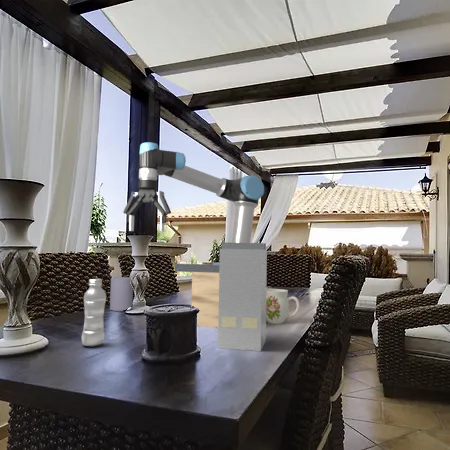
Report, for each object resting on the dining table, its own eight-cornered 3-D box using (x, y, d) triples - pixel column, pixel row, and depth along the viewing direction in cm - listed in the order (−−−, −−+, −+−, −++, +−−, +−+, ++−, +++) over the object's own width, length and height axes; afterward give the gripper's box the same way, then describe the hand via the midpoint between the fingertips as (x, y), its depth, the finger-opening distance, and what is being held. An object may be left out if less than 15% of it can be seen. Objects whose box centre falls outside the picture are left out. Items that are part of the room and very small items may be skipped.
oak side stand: (197, 321, 155) (198, 271, 157) (240, 323, 151) (241, 272, 153) (191, 325, 147) (192, 272, 148) (236, 328, 143) (237, 273, 144)
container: (118, 312, 173) (120, 279, 174) (105, 309, 179) (106, 278, 180) (136, 309, 181) (137, 278, 182) (123, 307, 187) (124, 277, 188)
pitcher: (296, 327, 147) (297, 291, 148) (252, 322, 154) (253, 288, 154) (301, 322, 157) (301, 288, 158) (260, 318, 164) (260, 286, 165)
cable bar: (178, 270, 156) (178, 263, 156) (235, 272, 151) (235, 265, 151) (175, 271, 152) (175, 263, 152) (233, 273, 147) (233, 265, 147)
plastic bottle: (80, 344, 116) (83, 278, 117) (103, 342, 119) (105, 278, 120) (81, 349, 110) (84, 280, 111) (105, 347, 113) (108, 280, 114)
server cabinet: (227, 338, 127) (228, 243, 129) (265, 340, 124) (266, 243, 126) (217, 348, 114) (219, 242, 116) (260, 351, 111) (261, 242, 113)
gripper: (116, 179, 156) (114, 230, 155) (173, 177, 151) (171, 230, 149) (124, 182, 164) (123, 231, 162) (179, 181, 158) (178, 231, 157)
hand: (146, 231), depth 156 cm, fingers open, 13 cm apart
